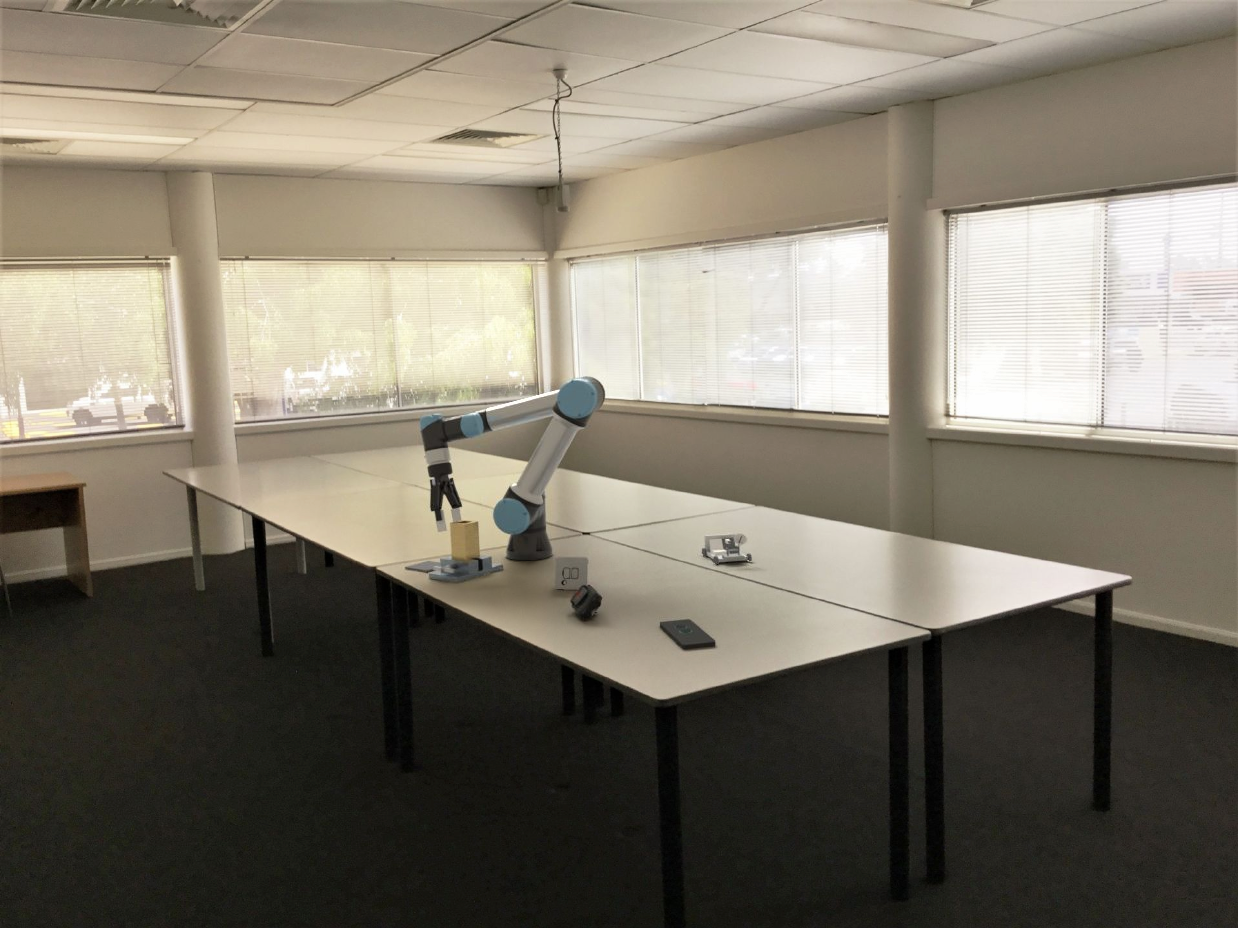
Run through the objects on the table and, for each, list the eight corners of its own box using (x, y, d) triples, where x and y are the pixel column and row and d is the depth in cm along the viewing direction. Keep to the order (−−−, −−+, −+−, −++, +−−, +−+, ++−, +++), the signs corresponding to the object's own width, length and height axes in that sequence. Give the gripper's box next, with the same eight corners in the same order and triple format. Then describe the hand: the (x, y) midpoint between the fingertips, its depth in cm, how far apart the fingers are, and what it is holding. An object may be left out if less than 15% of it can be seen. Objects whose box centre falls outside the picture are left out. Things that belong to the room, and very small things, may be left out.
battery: (586, 614, 274) (565, 601, 272) (604, 589, 273) (583, 576, 271) (594, 631, 263) (572, 617, 261) (613, 605, 262) (591, 591, 260)
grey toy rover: (754, 534, 318) (718, 536, 315) (754, 565, 319) (718, 568, 316) (735, 523, 335) (701, 526, 333) (735, 553, 336) (701, 556, 334)
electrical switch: (554, 590, 294) (554, 557, 294) (559, 587, 299) (559, 555, 299) (586, 591, 292) (586, 558, 292) (590, 588, 298) (590, 556, 297)
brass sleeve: (465, 554, 321) (464, 519, 320) (479, 556, 318) (478, 521, 316) (451, 558, 317) (450, 522, 315) (466, 560, 313) (464, 524, 312)
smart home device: (690, 618, 257) (717, 640, 238) (690, 624, 258) (717, 648, 238) (658, 621, 255) (682, 644, 236) (658, 628, 256) (682, 651, 236)
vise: (475, 564, 329) (473, 521, 328) (503, 569, 322) (501, 524, 321) (429, 578, 313) (426, 532, 312) (457, 582, 306) (455, 536, 305)
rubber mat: (428, 562, 335) (428, 560, 335) (450, 565, 329) (450, 564, 329) (405, 568, 327) (404, 566, 327) (427, 572, 321) (427, 570, 321)
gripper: (442, 465, 340) (454, 529, 339) (411, 465, 315) (423, 534, 314) (464, 461, 338) (475, 525, 337) (434, 461, 314) (446, 530, 313)
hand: (450, 530), depth 326 cm, fingers open, 13 cm apart
